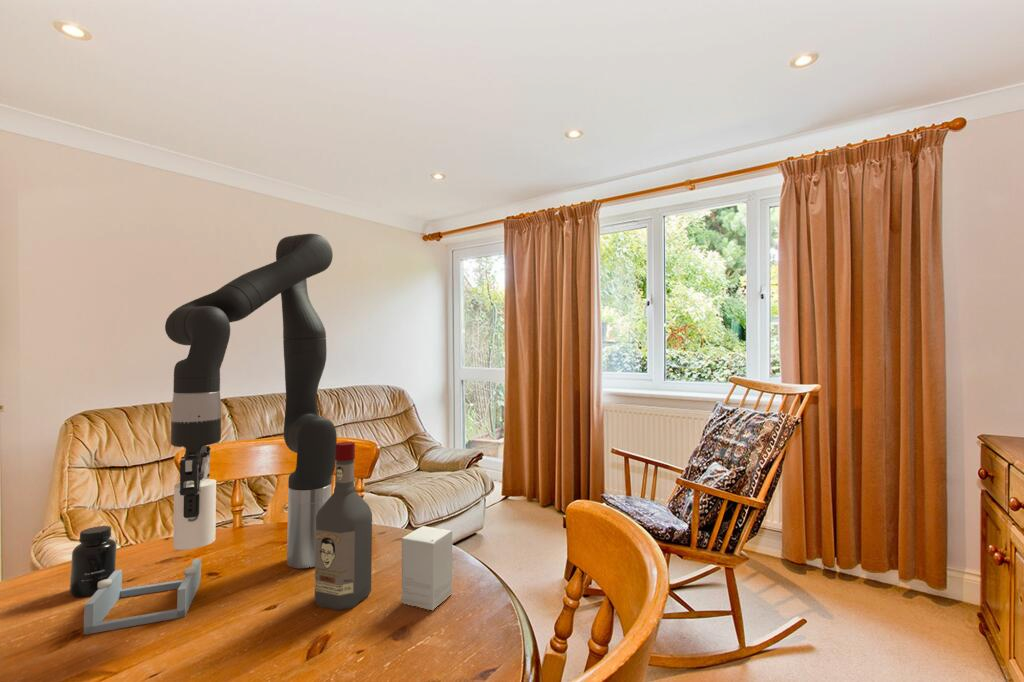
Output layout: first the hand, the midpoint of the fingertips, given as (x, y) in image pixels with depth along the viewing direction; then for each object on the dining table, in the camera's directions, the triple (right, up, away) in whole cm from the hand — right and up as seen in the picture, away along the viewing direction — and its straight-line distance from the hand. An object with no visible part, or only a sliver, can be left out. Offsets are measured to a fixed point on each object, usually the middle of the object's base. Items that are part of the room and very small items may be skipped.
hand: (195, 510), depth 86 cm
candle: (0, -6, 0) cm, 6 cm away
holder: (-12, -20, +5) cm, 23 cm away
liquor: (+24, -20, +8) cm, 32 cm away
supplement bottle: (-28, -20, +11) cm, 36 cm away
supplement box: (+40, -20, +7) cm, 46 cm away
